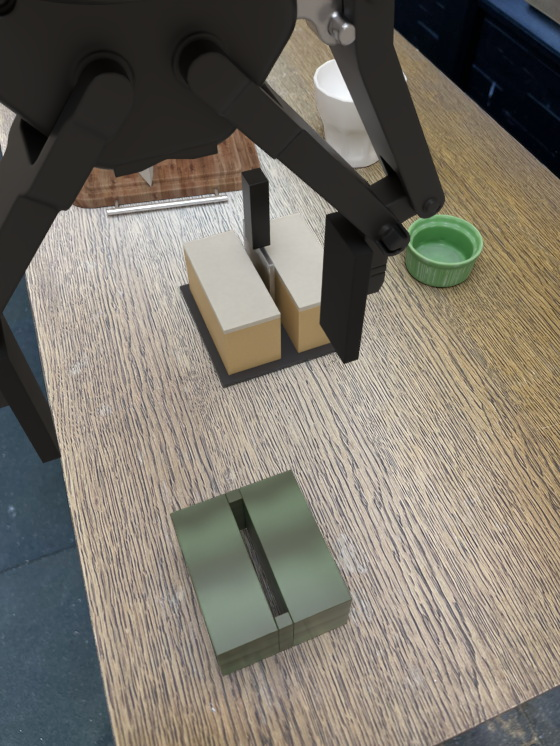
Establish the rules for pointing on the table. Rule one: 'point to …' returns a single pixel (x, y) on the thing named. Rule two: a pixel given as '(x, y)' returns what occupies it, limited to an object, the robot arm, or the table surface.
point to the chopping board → (173, 180)
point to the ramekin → (442, 250)
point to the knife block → (278, 561)
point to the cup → (341, 117)
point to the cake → (257, 301)
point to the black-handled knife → (258, 225)
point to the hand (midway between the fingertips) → (200, 386)
